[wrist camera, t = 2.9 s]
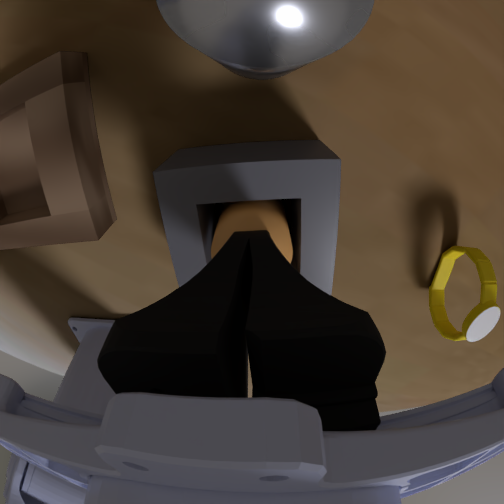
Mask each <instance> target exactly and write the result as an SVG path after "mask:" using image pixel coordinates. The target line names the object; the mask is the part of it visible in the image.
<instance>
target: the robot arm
mask: <svg viewBox="0 0 504 504" xmlns="http://www.w3.org/2000/svg"><path fill="white" fill-rule="evenodd" d="M68 324H69V326H70V328H71V330H72V331H73V333H74V334H75V336H76V338H77V339H78V341H79V343H80V345H79V347H78V349H77V351H76V353H75V355H74V357H73V359H72V361H71V363H70V365H69V367H68V369H67V372H66V374H65V376H64V378H63V380H62V383H61V385H60V387H59V389H58V391H57V394H56V396H55V398H54V401H53V402H51V401H48V400H45V399H42V398H39V397H36V396H33V395H30V394H27V393H25V392H24V390H23V389H22V388H21V386H20V385H19V384H18V383H17V382H16V381H14V380H13V379H11V378H9V377H7V376H4V375H2V374H0V444H1V445H2V446H3V447H5V448H6V449H8V450H9V451H10V452H12V454H11V458H10V461H9V464H8V468H7V473H6V477H7V481H6V484H5V489H4V493H3V495H4V497H5V498H6V502H5V504H401V498H404V497H407V496H410V495H413V494H416V493H418V492H421V491H424V490H426V489H429V488H431V487H434V486H436V485H439V484H441V483H443V482H446V481H448V480H450V479H452V478H454V477H456V476H458V475H461V474H463V473H465V472H467V471H469V470H471V469H473V468H475V467H477V466H478V465H480V464H482V463H484V462H486V461H488V460H489V459H491V458H493V457H495V456H496V455H498V454H500V453H501V452H503V451H504V368H503V369H502V370H501V371H500V372H499V373H498V374H497V375H496V376H495V378H494V379H493V381H492V383H490V384H487V385H485V386H482V387H480V388H477V389H475V390H472V391H469V392H467V393H464V394H461V395H458V396H455V397H452V398H449V399H446V400H443V401H440V402H437V403H433V404H430V405H426V406H423V407H419V408H415V409H412V410H408V411H404V412H399V413H395V414H391V415H386V416H382V417H380V416H379V412H378V408H377V404H376V400H375V398H376V397H377V395H378V392H377V388H376V385H375V381H376V379H377V376H378V374H379V372H380V369H381V367H382V365H383V362H384V359H385V355H386V351H385V346H384V343H383V340H382V337H381V335H380V333H379V331H378V329H377V327H376V325H375V323H374V322H373V320H372V318H371V317H370V315H369V313H368V312H366V311H363V310H361V309H359V308H356V307H354V306H351V305H349V304H346V303H344V302H342V301H340V300H338V299H336V298H334V297H333V296H331V295H329V294H327V293H326V292H324V291H322V290H321V289H319V288H318V287H316V286H315V285H314V284H312V283H311V282H309V281H308V280H307V279H306V278H304V277H303V276H302V275H301V274H300V273H299V272H298V271H297V270H296V269H295V268H294V267H293V266H292V265H291V264H290V263H289V262H288V260H287V259H286V258H285V257H284V256H283V254H282V253H281V252H280V250H279V249H278V248H277V246H276V245H275V243H274V241H273V240H272V238H271V236H270V233H269V232H268V231H267V230H254V231H236V232H234V233H233V234H232V235H231V236H230V238H229V239H228V240H227V242H226V243H225V244H224V245H223V247H222V248H221V249H220V250H219V251H218V253H217V254H216V255H215V256H214V257H213V258H212V260H211V261H210V262H209V263H208V264H207V265H206V266H205V267H204V268H203V269H202V270H201V271H200V272H199V273H197V274H196V275H195V276H194V277H193V278H191V279H190V280H189V281H188V282H186V283H185V284H184V285H182V286H181V287H179V288H178V289H176V290H175V291H173V292H172V293H170V294H169V295H167V296H166V297H164V298H162V299H161V300H159V301H157V302H155V303H153V304H151V305H149V306H148V307H146V308H143V309H141V310H139V311H137V312H134V313H132V314H130V315H127V316H125V317H122V318H120V319H117V320H103V319H86V318H72V317H71V318H69V320H68ZM248 356H249V363H250V370H251V377H252V385H253V389H252V398H248Z"/></svg>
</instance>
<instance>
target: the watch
mask: <svg viewBox="0 0 504 504" xmlns="http://www.w3.org/2000/svg"><path fill="white" fill-rule="evenodd" d="M464 253H466V254H467V255H468V257H469V258H470V259H471V260H472V261H473V262H474V263H475V264H476V267H477V271H478V274H479V278H480V281H481V296H480V303H479V304H478V305H477V306H476V307H474V308H473V309H472V310H471V311H470V313H469V314H468V315H467V317H466V318H465V320H464V322H463V325H462V332H459V331H457V330H456V329H455V328H454V327H453V326H452V324H451V323H450V322H449V320H448V317H447V313H446V310H445V307H444V288H445V286H446V283H447V281H448V278H449V276H450V273H451V271H452V268H453V265H454V263H455V260H456V259H457V258H458V257H460V256H461V255H463V254H464ZM496 282H497V280H496V277H495V273H494V270H493V267H492V264H491V262H490V260H489V259H488V258H487V257H486V256H485V255H484V253H483V252H482V251H481V250H480V249H478V248H470V247H462V246H452V247H451V248H449V249H448V250H446V251H445V252H444V253H442V256H441V259H440V262H439V265H438V268H437V270H436V273H435V276H434V278H433V281H432V283H431V286H429V307H430V308H429V309H430V313H431V316H432V320H433V323H434V324H435V325H434V326H435V327H436V328H437V330H438V331H439V332H440V334H441V335H442V337H444V338H447V339H450V340H453V341H459V340H466V339H467V340H468V341H469V342H474V341H478V340H480V339H481V338H483V337H484V336H486V335H487V334H488V333H489V332H490V331H491V330H492V329H493V328H494V326H495V325H496V323H497V321H498V319H499V317H500V308H499V306H498V305H497V304H496V294H497V284H496Z"/></svg>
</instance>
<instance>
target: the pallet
mask: <svg viewBox="0 0 504 504" xmlns="http://www.w3.org/2000/svg"><path fill="white" fill-rule="evenodd" d="M116 220H117V218H116V214H115V210H114V207H113V203H112V199H111V195H110V191H109V187H108V183H107V179H106V174H105V170H104V165H103V161H102V156H101V151H100V146H99V141H98V135H97V130H96V124H95V118H94V112H93V105H92V98H91V90H90V82H89V72H88V62H87V53H84V52H69V51H59V52H57V53H55V54H53V55H51V56H49V57H47V58H45V59H43V60H42V61H40V62H38V63H36V64H34V65H32V66H31V67H29V68H27V69H25V70H24V71H22V72H20V73H19V74H17V75H15V76H14V77H12V78H10V79H9V80H7V81H6V82H4V83H3V84H1V85H0V250H6V249H15V248H24V247H33V246H43V245H53V244H63V243H74V242H85V241H96V240H99V239H100V238H101V237H102V236H103V234H104V233H105V232H106V231H107V230H108V229H109V227H110V226H111V225H112V224H113V223H114V222H115V221H116Z"/></svg>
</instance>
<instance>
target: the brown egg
mask: <svg viewBox="0 0 504 504" xmlns="http://www.w3.org/2000/svg"><path fill="white" fill-rule="evenodd" d="M254 230H267V231H268V232H269V233H270V236H271V238H272V240H273V241H274V243H275V245H276V246H277V248H278V249H279V250H280V252H281V253H282V254H283V256H284V257H285V258H286V259H287V260H288V262H289V263H291V261H292V255H293V249H292V243H291V238H290V233H289V228H288V223H287V218H286V213H285V208H284V205H283V203H282V201H281V200H280V199H271V200H253V201H237V202H224V203H223V205H222V208H221V212H220V216H219V219H218V223H217V227H216V230H215V234H214V238H213V241H212V246H211V257H212V258H213V257H214V256H215V255H216V254H217V253H218V251H219V250H220V249H221V248H222V247H223V245H224V244H225V243H226V242H227V240H228V239H229V238H230V236H231V235H232V234H233V233H234V232H236V231H254Z"/></svg>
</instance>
